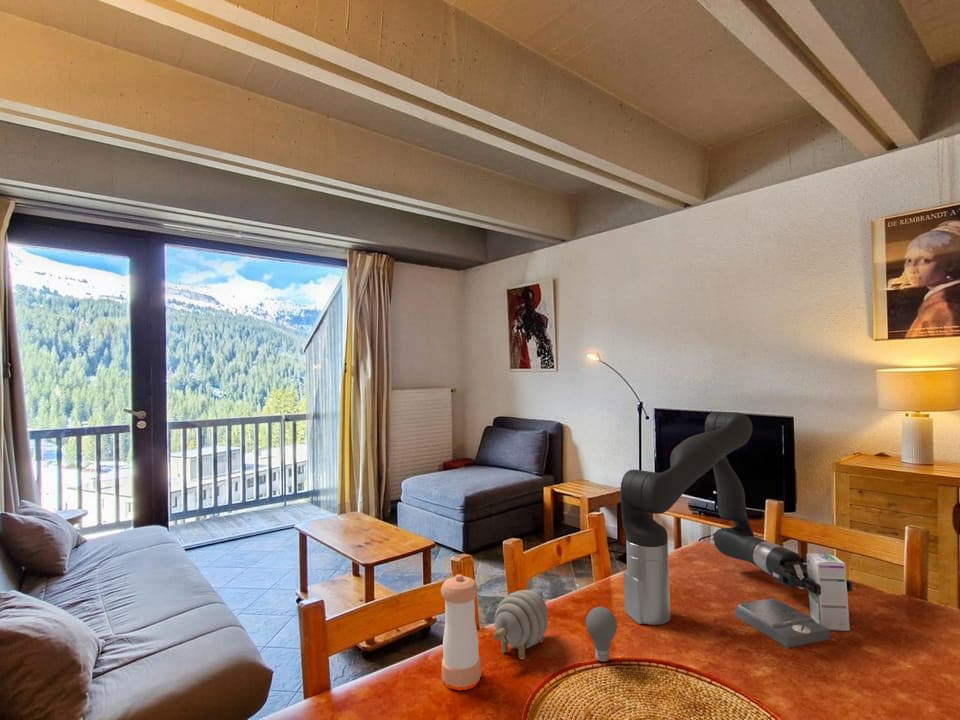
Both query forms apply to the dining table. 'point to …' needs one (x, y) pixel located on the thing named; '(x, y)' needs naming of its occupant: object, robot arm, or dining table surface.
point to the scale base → (788, 630)
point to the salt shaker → (460, 633)
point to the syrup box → (828, 591)
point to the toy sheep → (521, 620)
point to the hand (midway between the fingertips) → (835, 588)
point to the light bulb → (601, 630)
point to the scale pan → (774, 612)
